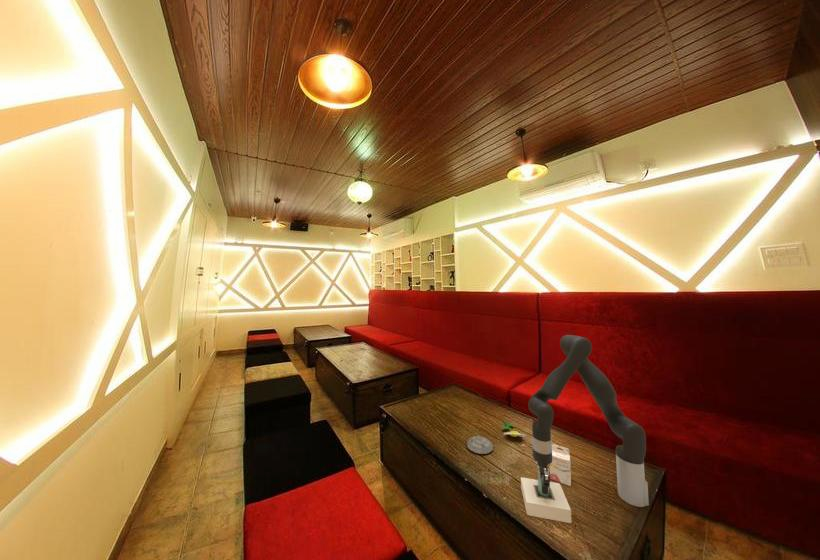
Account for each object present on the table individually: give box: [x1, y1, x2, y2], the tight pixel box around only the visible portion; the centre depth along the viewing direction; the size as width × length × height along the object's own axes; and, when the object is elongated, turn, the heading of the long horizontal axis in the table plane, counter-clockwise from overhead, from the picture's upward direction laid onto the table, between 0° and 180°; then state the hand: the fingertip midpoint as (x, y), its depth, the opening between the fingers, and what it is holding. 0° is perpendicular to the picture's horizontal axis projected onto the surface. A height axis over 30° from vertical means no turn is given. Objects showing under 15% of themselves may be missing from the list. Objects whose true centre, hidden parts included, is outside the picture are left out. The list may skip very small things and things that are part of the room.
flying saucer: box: [466, 435, 494, 455], centre depth 147 cm, size 15×15×6 cm
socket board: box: [520, 476, 572, 524], centre depth 107 cm, size 16×14×5 cm
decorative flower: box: [501, 418, 527, 438], centre depth 162 cm, size 13×5×30 cm
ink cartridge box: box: [549, 443, 572, 487], centre depth 121 cm, size 9×5×15 cm, turn 58°
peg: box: [536, 467, 549, 498], centre depth 107 cm, size 4×4×12 cm
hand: (543, 489), depth 107 cm, fingers closed on peg, 4 cm apart
